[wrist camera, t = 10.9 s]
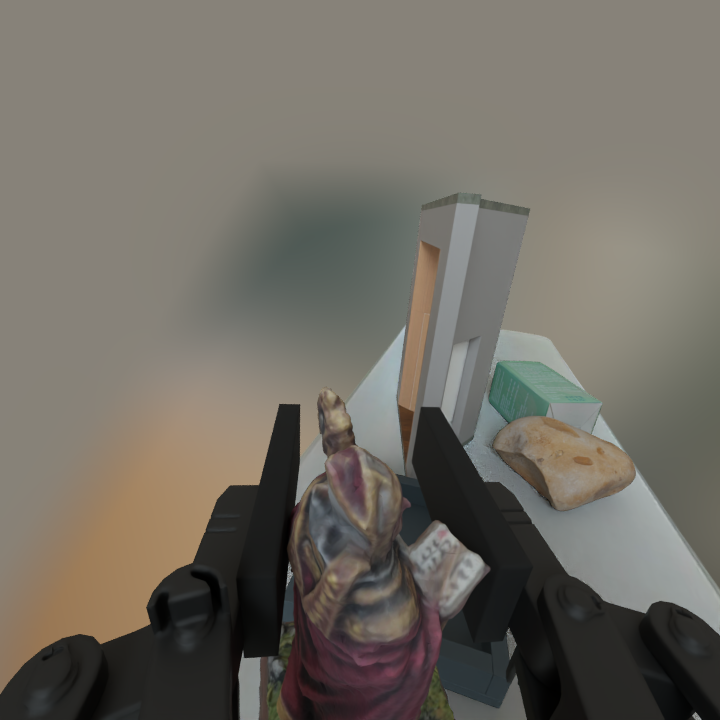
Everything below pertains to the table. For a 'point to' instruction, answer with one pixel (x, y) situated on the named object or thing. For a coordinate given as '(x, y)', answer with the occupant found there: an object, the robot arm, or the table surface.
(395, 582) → the figurine
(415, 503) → the dark grey square tray
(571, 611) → the robot arm
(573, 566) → the table surface
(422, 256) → the cabinet
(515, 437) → the stone
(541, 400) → the box
